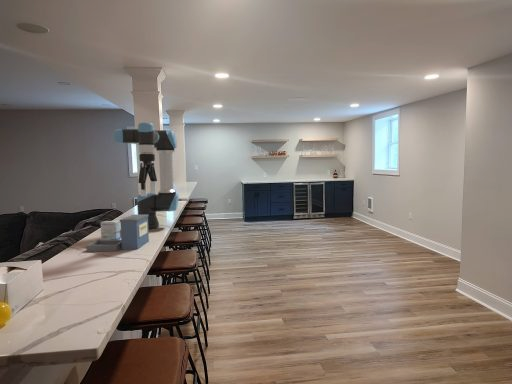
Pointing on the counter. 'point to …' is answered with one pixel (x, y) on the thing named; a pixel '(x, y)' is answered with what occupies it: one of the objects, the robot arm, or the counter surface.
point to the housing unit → (134, 231)
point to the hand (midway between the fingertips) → (148, 194)
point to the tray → (105, 245)
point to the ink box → (110, 230)
